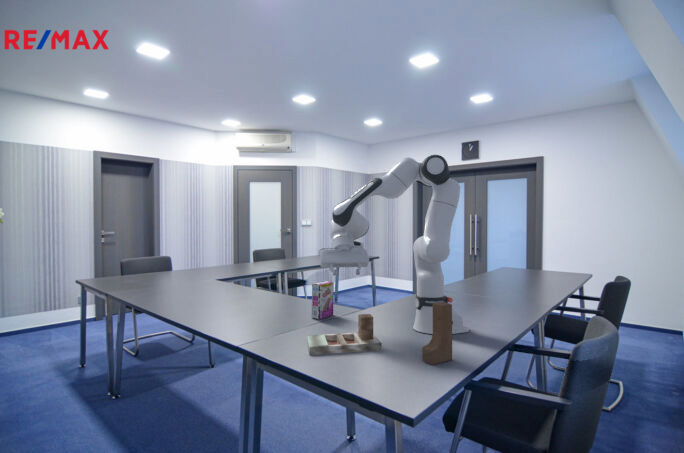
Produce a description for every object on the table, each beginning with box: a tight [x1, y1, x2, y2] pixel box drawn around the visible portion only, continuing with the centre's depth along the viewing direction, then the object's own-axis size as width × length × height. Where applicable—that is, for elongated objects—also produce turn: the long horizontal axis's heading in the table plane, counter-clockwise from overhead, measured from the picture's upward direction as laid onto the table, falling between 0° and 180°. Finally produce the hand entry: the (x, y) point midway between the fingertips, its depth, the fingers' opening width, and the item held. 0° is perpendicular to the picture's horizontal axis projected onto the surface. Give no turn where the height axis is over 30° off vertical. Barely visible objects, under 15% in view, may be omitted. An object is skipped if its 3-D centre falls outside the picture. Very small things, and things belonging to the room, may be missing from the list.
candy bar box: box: [311, 280, 335, 321], centre depth 164 cm, size 11×5×16 cm, turn 144°
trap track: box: [306, 332, 382, 356], centre depth 123 cm, size 25×13×2 cm, turn 100°
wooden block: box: [421, 302, 453, 366], centre depth 110 cm, size 9×4×18 cm, turn 118°
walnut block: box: [357, 313, 374, 340], centre depth 125 cm, size 4×4×8 cm
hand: (346, 274), depth 136 cm, fingers open, 8 cm apart
